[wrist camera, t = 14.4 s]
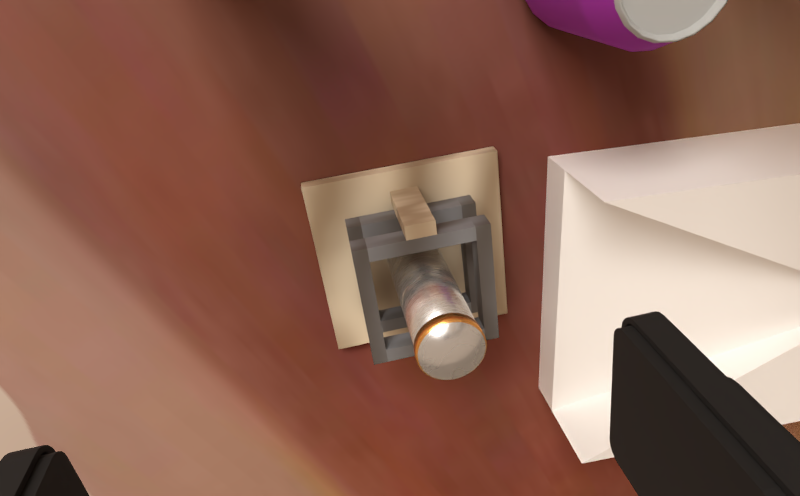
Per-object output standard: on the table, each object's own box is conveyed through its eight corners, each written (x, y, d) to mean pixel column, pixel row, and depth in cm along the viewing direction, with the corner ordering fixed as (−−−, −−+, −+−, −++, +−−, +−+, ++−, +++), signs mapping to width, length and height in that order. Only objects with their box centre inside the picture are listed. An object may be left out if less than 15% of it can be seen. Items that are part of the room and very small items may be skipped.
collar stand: (492, 146, 43) (527, 179, 37) (503, 306, 49) (534, 357, 43) (301, 182, 42) (303, 223, 36) (337, 341, 48) (345, 399, 42)
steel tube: (436, 225, 44) (484, 314, 33) (443, 273, 46) (489, 372, 35) (381, 237, 43) (411, 330, 33) (389, 285, 45) (421, 387, 35)
